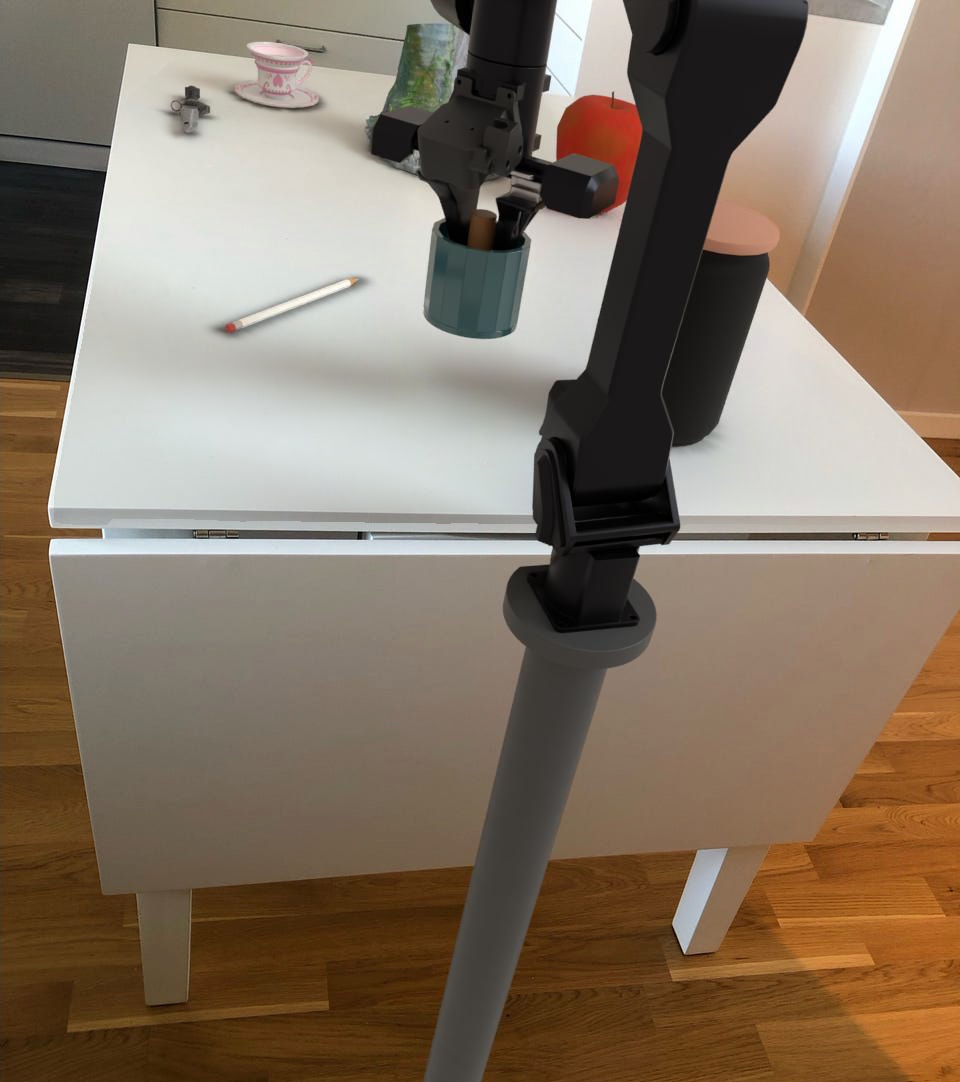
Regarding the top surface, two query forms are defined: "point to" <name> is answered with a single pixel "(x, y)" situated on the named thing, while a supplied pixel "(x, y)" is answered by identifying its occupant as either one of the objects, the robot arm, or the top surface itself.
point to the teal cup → (474, 286)
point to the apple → (602, 136)
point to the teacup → (278, 76)
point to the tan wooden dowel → (482, 229)
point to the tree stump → (422, 78)
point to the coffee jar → (717, 319)
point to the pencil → (289, 305)
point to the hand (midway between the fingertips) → (477, 272)
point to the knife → (191, 109)
